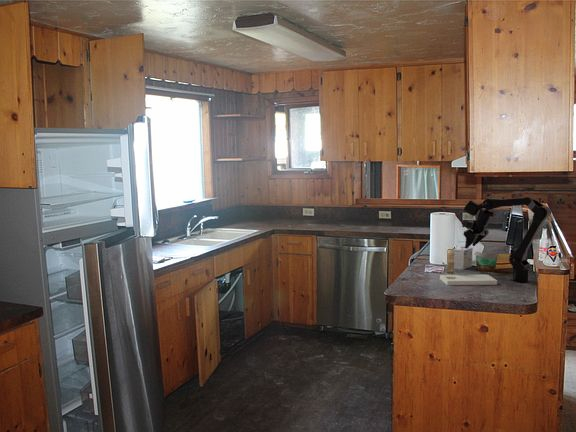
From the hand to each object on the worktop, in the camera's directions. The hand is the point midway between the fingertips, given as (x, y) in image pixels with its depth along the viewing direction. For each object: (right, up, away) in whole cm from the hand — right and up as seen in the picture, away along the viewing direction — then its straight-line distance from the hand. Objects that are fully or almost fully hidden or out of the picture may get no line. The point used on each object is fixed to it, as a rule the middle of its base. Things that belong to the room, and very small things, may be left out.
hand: (469, 247), depth 276 cm
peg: (-12, -15, -6) cm, 20 cm away
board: (-6, -16, -16) cm, 24 cm away
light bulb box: (+1, -12, +16) cm, 20 cm away
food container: (+11, -13, +7) cm, 19 cm away
